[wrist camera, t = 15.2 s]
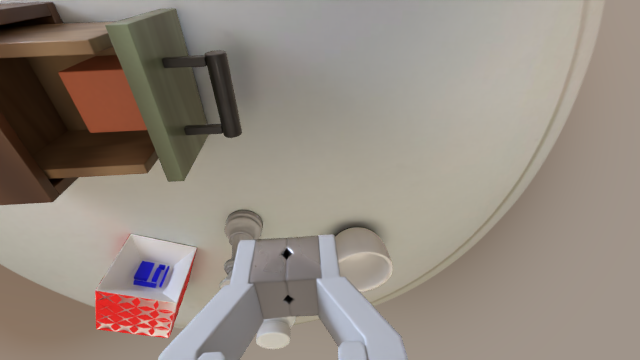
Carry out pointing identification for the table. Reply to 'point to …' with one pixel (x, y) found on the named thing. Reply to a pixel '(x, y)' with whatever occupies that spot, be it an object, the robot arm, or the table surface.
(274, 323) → the pill bottle
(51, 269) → the table surface
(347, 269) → the teacup
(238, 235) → the chess piece
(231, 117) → the drawer
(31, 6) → the cabinet
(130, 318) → the red patterned box
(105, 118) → the block
